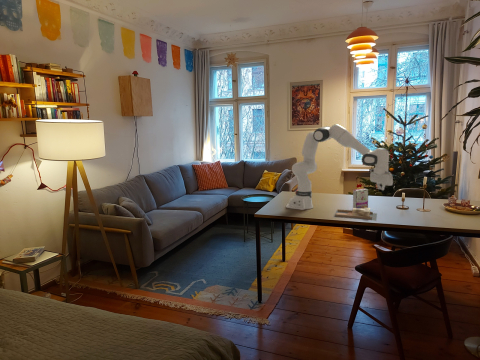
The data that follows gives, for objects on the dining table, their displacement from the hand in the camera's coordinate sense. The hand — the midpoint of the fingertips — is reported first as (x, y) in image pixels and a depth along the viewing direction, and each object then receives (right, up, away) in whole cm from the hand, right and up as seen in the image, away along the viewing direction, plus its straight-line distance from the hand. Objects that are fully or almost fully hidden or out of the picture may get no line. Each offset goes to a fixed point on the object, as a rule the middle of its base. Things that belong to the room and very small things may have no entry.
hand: (380, 189), depth 243 cm
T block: (-11, -20, +9) cm, 24 cm away
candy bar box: (-5, -17, +28) cm, 33 cm away
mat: (-15, -20, +10) cm, 27 cm away
